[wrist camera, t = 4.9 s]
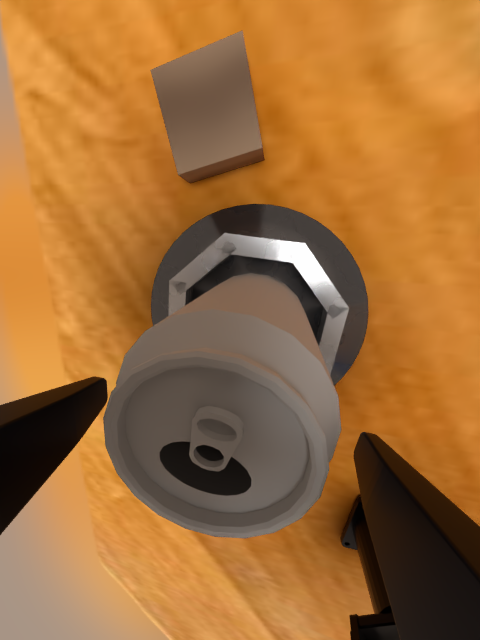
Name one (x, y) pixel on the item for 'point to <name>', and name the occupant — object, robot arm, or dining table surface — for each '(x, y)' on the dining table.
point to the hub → (272, 272)
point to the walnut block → (210, 109)
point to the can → (226, 412)
